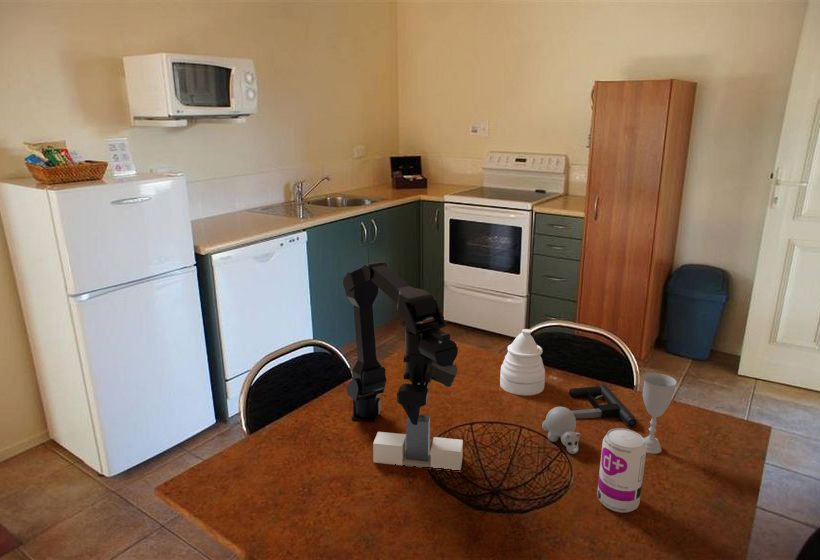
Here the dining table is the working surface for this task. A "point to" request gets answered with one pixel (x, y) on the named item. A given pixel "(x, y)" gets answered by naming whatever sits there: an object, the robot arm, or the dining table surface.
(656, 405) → the chalice
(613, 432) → the supplement can
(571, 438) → the round bodied animal figurine
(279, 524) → the dining table surface
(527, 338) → the honey pot
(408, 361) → the robot arm
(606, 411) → the toy submachine gun
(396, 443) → the white block dumbbell
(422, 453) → the grey brushed metal block
